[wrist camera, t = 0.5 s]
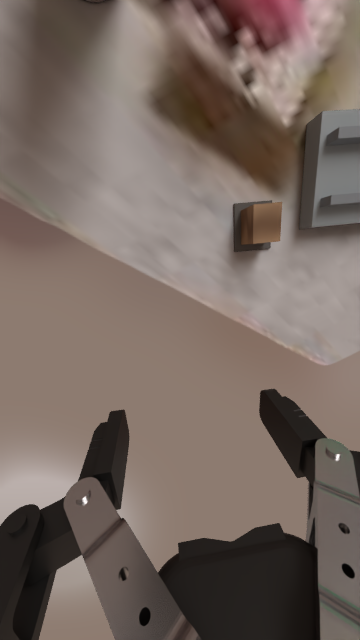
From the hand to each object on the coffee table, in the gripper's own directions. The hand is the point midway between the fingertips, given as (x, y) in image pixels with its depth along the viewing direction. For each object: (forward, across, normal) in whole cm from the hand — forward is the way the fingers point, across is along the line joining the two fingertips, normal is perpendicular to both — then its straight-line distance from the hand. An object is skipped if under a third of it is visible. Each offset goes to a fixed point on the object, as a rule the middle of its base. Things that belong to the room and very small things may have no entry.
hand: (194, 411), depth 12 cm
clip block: (+23, -15, -11) cm, 29 cm away
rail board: (+26, -32, -17) cm, 44 cm away
